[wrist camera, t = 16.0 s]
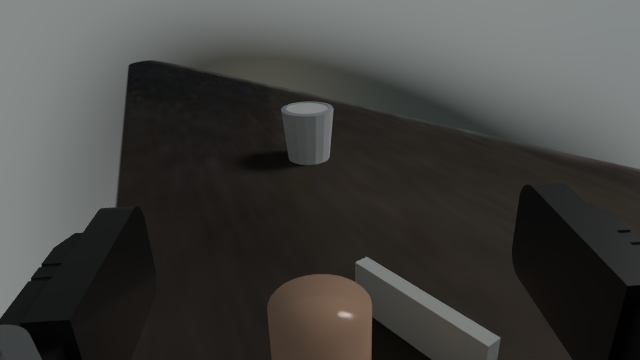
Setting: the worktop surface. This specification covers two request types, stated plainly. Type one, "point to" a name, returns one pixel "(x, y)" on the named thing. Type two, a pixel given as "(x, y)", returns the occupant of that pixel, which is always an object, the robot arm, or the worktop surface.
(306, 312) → the cylinder
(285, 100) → the worktop surface
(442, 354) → the wall
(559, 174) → the worktop surface
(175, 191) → the worktop surface
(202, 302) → the worktop surface
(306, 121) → the shot glass
